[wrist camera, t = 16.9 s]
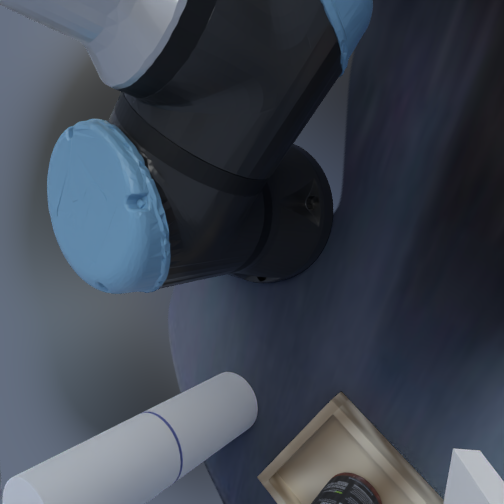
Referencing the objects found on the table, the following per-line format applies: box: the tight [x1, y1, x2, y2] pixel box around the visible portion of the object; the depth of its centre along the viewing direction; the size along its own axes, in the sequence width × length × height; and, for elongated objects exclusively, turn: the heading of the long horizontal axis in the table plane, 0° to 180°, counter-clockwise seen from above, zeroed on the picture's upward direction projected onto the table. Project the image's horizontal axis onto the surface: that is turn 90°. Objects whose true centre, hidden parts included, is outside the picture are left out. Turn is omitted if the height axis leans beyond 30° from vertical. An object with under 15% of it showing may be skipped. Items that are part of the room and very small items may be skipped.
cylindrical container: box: [2, 372, 258, 504], centre depth 42 cm, size 7×7×25 cm
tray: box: [257, 392, 444, 504], centre depth 43 cm, size 16×14×2 cm
